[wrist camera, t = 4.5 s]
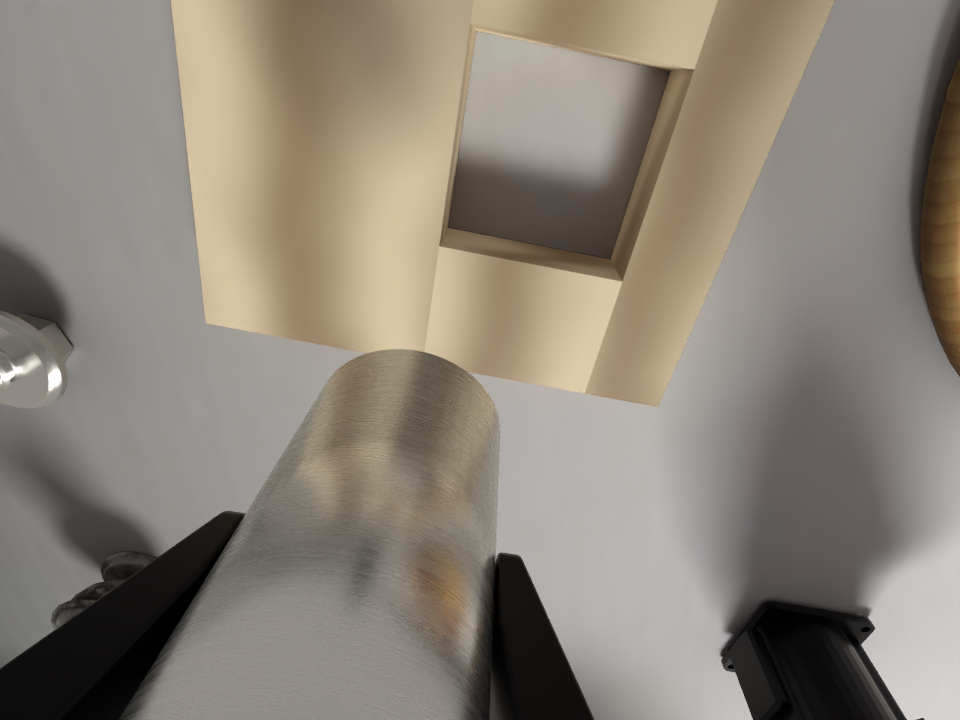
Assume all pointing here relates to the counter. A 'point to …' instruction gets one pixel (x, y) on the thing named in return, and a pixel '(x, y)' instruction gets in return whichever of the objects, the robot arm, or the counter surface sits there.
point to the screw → (31, 361)
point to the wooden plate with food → (944, 226)
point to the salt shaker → (102, 584)
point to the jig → (432, 167)
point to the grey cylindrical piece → (353, 564)
